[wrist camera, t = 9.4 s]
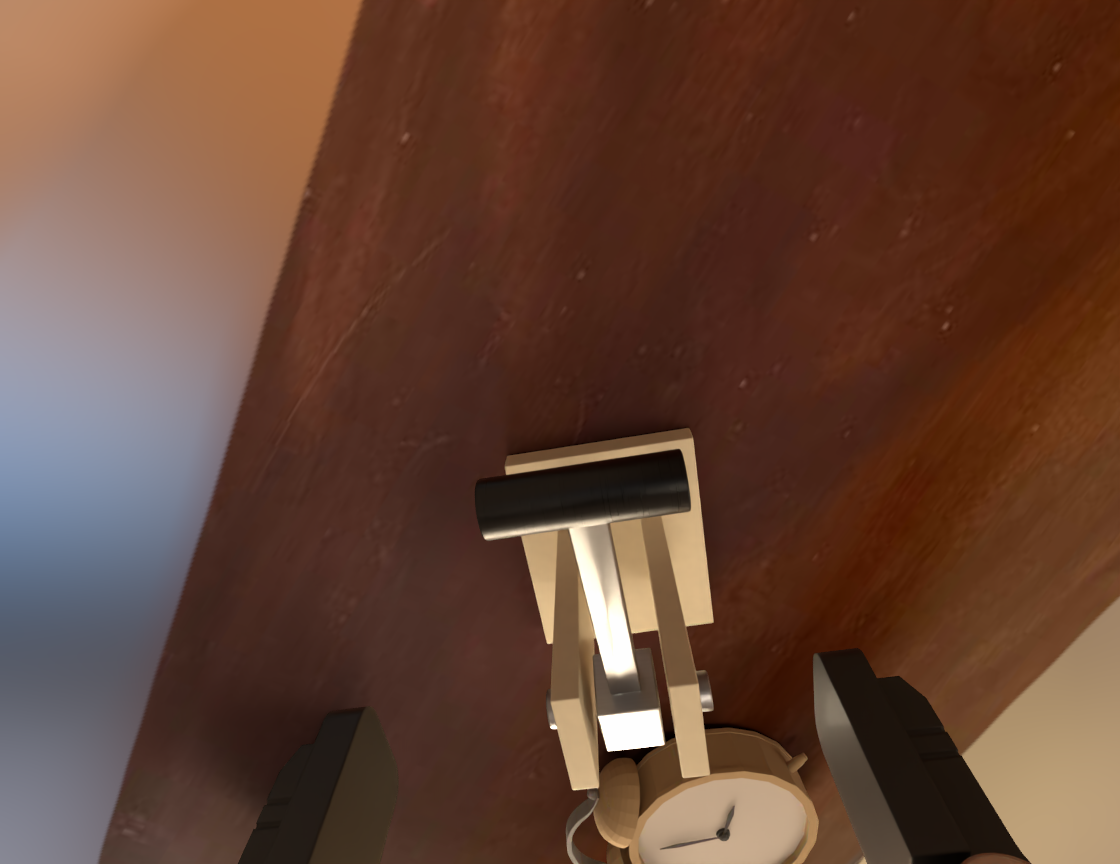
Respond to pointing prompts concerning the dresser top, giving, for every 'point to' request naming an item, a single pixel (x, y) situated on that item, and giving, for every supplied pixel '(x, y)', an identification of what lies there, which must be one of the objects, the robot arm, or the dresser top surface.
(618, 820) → the alarm clock
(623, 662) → the lever
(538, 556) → the bracket
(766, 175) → the dresser top surface
